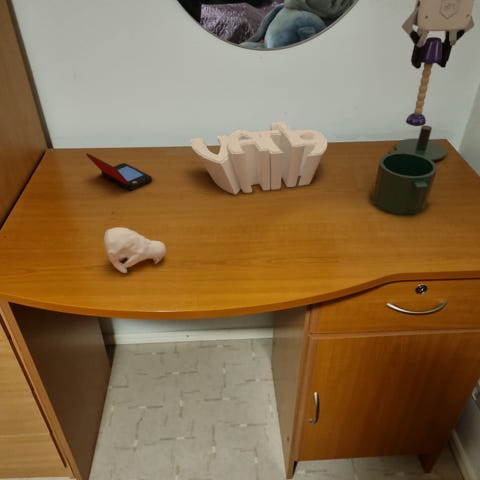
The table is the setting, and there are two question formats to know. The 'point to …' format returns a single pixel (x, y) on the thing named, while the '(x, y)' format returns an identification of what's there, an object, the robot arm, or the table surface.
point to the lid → (422, 145)
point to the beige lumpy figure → (130, 248)
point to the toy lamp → (425, 78)
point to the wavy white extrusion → (263, 158)
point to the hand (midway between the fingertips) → (428, 65)
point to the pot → (403, 183)
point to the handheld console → (122, 173)
